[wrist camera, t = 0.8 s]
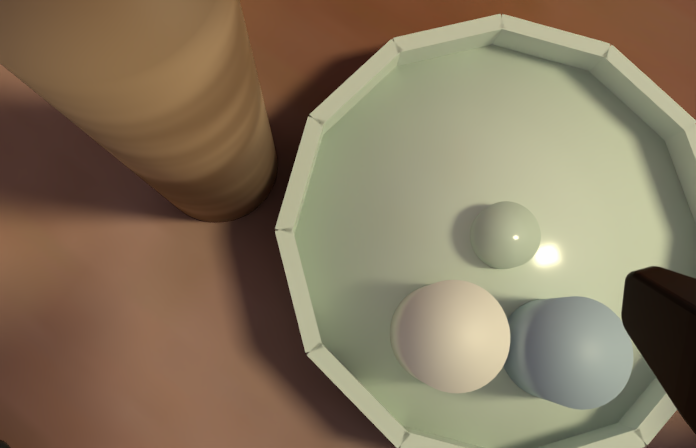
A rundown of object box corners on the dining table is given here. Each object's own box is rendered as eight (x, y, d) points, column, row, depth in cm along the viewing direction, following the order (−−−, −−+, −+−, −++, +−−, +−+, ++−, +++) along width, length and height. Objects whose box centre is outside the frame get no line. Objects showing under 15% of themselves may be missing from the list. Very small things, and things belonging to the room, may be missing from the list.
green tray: (661, 510, 20) (699, 530, 18) (232, 394, 20) (223, 402, 18) (722, 105, 23) (760, 85, 21) (347, 1, 23) (350, -29, 21)
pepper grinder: (258, 235, 21) (174, 114, 9) (142, 204, 21) (-108, 36, 9) (291, 126, 22) (258, -129, 9) (179, 95, 22) (0, -201, 9)
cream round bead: (474, 395, 20) (497, 406, 17) (379, 369, 20) (387, 376, 17) (495, 299, 20) (520, 295, 18) (403, 273, 20) (414, 267, 18)
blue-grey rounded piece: (585, 409, 20) (622, 422, 17) (490, 384, 20) (514, 392, 17) (602, 313, 20) (641, 312, 18) (510, 288, 20) (536, 283, 18)
